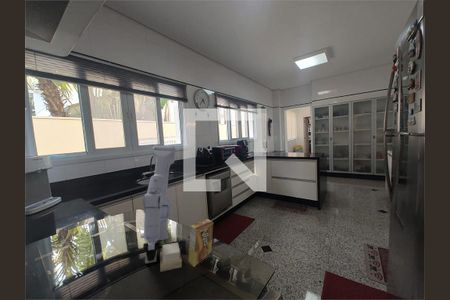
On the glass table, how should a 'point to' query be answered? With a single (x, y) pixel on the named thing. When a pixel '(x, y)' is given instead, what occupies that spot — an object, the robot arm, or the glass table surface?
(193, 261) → the candy box
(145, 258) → the block
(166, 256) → the slab top
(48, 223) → the glass table surface
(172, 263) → the slab bottom
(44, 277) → the glass table surface
